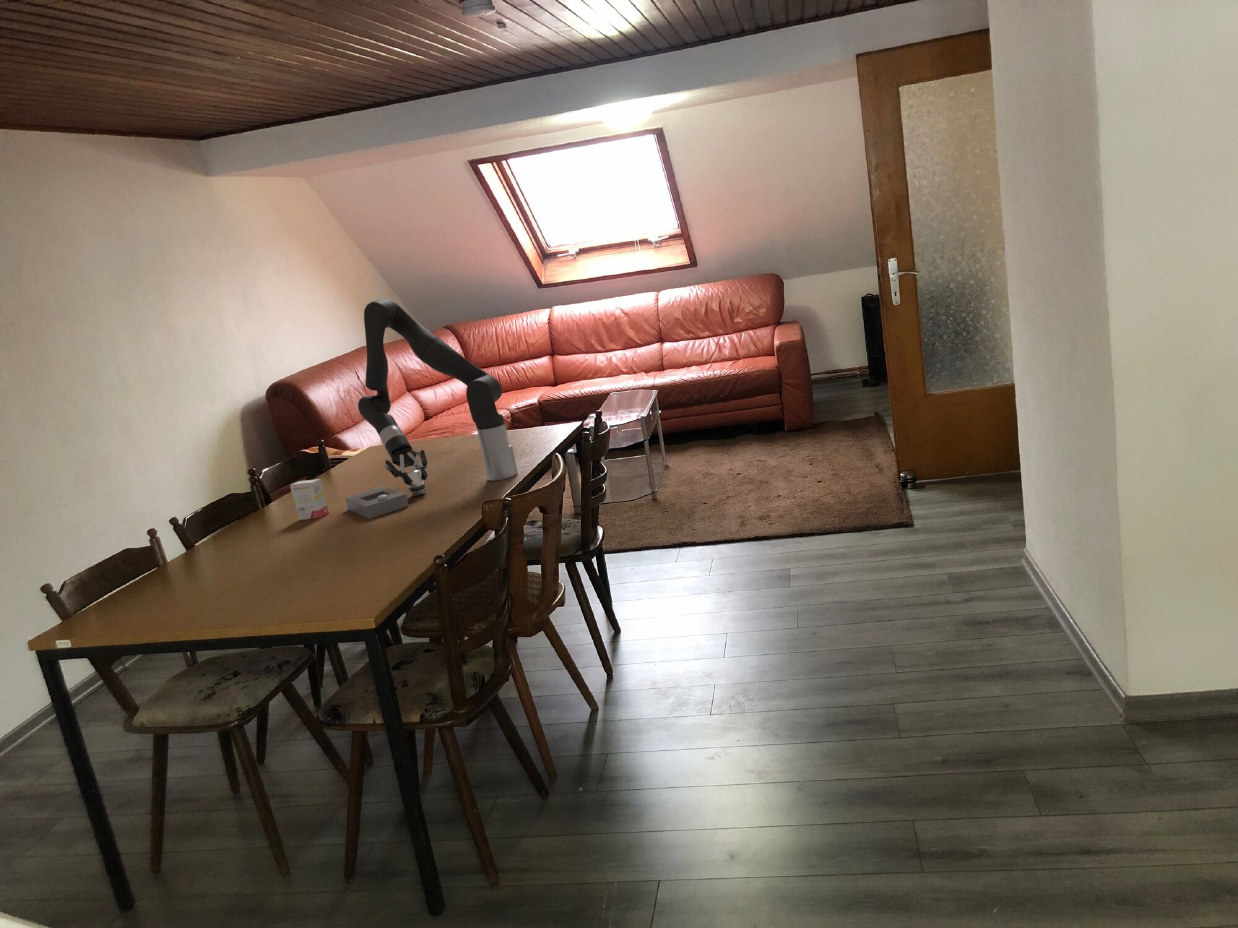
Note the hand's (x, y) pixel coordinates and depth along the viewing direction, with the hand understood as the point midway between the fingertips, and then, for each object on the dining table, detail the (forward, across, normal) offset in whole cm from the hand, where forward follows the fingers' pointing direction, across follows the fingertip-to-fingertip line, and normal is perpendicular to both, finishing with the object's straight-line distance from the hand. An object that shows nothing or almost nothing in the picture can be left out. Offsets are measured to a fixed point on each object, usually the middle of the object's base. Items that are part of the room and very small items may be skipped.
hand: (417, 480), depth 305 cm
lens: (+2, 0, +4) cm, 5 cm away
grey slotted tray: (+2, -14, +5) cm, 15 cm away
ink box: (-8, -30, +16) cm, 35 cm away
